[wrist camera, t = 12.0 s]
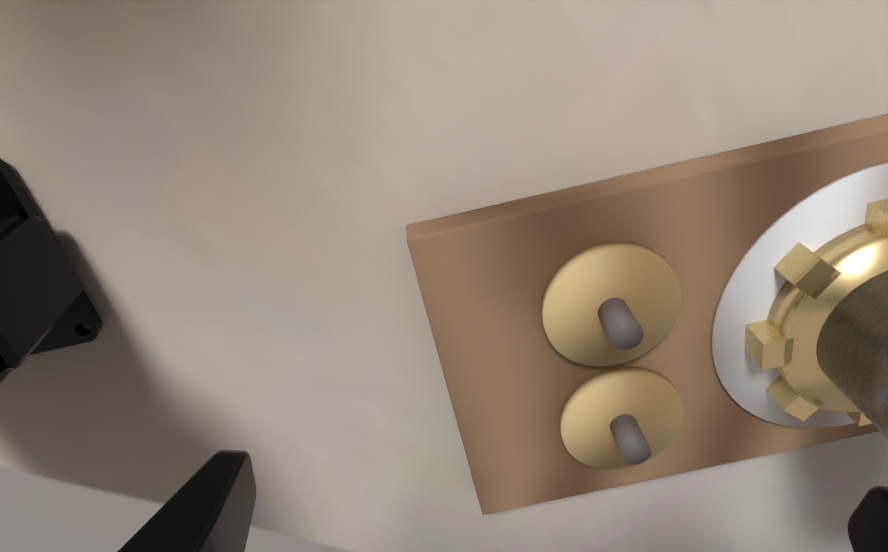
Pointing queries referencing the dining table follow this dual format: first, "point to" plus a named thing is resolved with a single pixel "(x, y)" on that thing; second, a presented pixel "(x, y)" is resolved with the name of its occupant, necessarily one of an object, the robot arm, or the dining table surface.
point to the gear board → (634, 314)
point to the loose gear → (831, 326)
